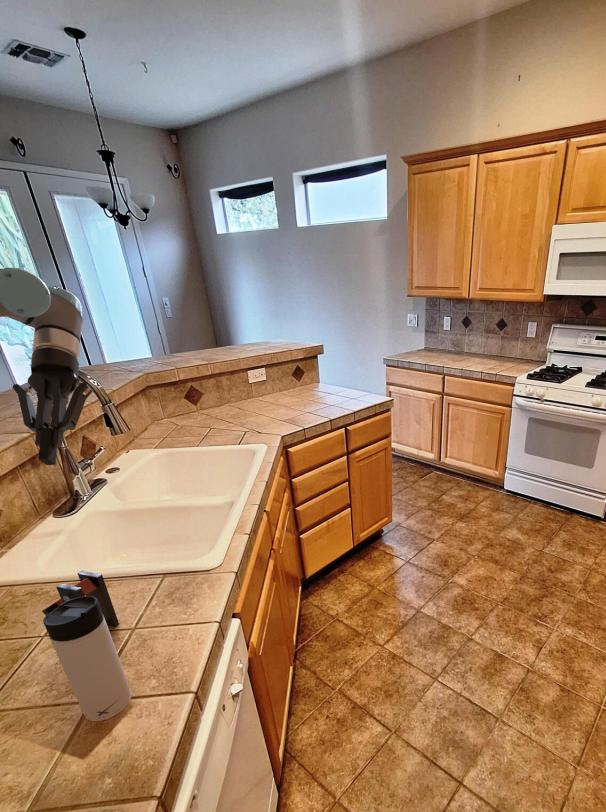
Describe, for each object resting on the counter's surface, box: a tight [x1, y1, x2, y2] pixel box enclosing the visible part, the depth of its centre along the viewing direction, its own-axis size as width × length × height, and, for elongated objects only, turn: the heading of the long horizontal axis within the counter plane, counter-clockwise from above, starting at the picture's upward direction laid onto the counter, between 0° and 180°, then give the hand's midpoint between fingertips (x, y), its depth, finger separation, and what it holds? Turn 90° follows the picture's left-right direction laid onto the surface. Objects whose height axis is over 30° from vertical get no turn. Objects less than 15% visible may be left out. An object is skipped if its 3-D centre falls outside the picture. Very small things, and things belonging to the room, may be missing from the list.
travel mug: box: [42, 596, 133, 722], centre depth 62 cm, size 6×7×20 cm
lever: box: [41, 578, 96, 616], centre depth 77 cm, size 11×5×2 cm
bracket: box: [55, 570, 120, 628], centre depth 77 cm, size 12×9×13 cm
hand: (47, 461), depth 81 cm, fingers closed
